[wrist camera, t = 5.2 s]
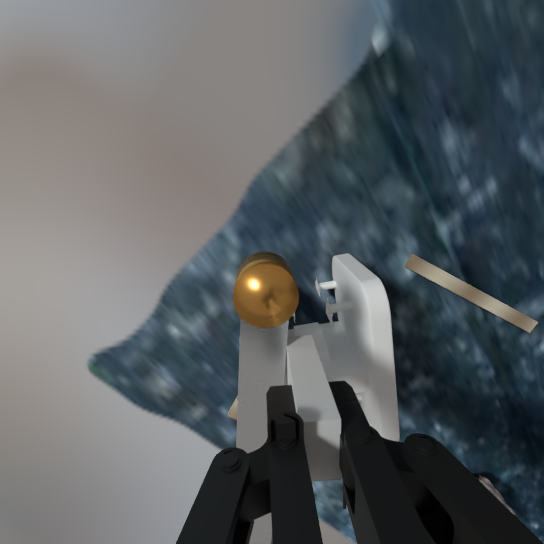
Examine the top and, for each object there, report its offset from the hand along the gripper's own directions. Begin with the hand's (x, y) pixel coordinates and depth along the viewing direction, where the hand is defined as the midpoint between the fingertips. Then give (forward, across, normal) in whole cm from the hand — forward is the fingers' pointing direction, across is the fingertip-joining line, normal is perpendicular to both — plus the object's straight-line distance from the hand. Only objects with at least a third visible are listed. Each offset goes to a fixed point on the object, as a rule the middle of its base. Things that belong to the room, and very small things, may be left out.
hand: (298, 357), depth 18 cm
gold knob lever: (+2, -3, -6) cm, 7 cm away
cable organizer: (+15, +2, -5) cm, 16 cm away
